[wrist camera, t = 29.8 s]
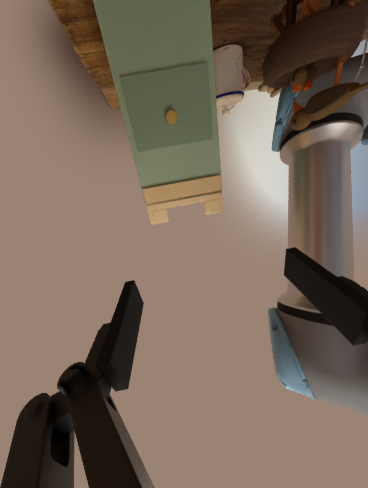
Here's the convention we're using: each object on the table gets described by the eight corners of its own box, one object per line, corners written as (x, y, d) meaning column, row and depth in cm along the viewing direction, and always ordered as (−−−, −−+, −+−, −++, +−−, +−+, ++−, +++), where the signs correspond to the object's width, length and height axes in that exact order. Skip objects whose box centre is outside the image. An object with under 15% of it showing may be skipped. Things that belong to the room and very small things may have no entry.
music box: (403, -451, 7) (333, 123, 16) (563, -392, 9) (419, 98, 18) (223, -43, 21) (239, 145, 29) (299, -50, 22) (293, 130, 31)
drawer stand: (209, -66, 18) (225, 212, 31) (189, 40, 34) (205, 196, 47) (78, -45, 18) (150, 226, 31) (119, 52, 34) (155, 205, 47)
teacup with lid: (198, 65, 44) (203, 120, 49) (216, 42, 36) (220, 110, 41) (237, 64, 47) (238, 116, 52) (262, 42, 39) (261, 106, 44)
